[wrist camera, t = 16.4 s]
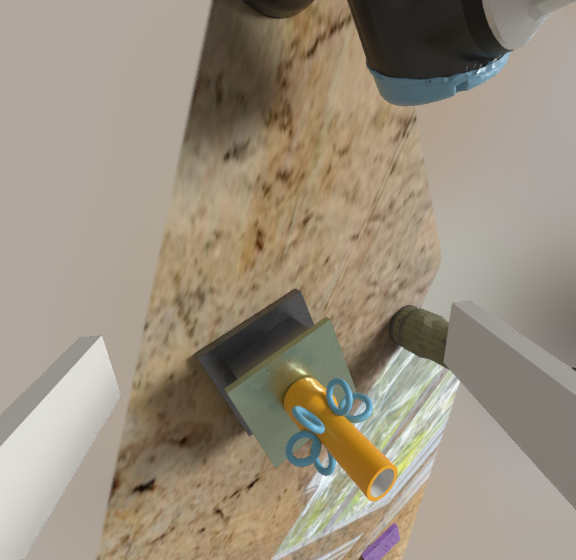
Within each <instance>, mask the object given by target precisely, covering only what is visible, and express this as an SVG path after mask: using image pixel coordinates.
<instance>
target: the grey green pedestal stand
mask: <svg viewBox="0 0 576 560" xmlns="http://www.w3.org/2000/svg"><path fill="white" fill-rule="evenodd" d="M195 355H196V357H197V359H198V360H199V362H200V363H201V365H202V366H203V368H204V369H205V371H206V372H207V374H208V375H209V377H210V378H211V380H212V381H213V383H214V384H215V386H216V387H217V389H218V390H219V392H220V393H221V395H222V396H223V398H224V399H225V401H226V402H227V404H228V405H229V407H230V408H231V410H232V411H233V413H234V414H235V416H236V417H237V419H238V420H239V422H240V423H241V425H242V426H243V428H244V429H245V431H246V432H247V434H248V435H249V436H251V435H252V434H254V436H255V437H256V439H257V440H258V442H259V443H260V445H261V447H262V448H263V450H264V451H265V453H266V454H267V456H268V457H269V459H270V460H271V462H272V463H273V465H274V467H275V468H277V467H278V466H279V465H280V464H281V463H282V462H284V461H285V460H286V459H287V457H286V445H287V442H288V441H289V439H290V438H291V437H292V436H293V435H294V434H296V433H298V432H300V430H299V428H298V427H297V426H296V425H295V423H294V422H293V421H292V419H291V418H290V417H289V416H288V414H287V413H286V412H285V409H284V403H283V402H284V397H285V394H286V392H287V390H288V389H289V388H290V386H291V385H292V384H293V383H295V382H296V381H297V380H299V379H301V378H305V377H311V378H314V379H316V380H317V381H319V382H320V383H321V384H322V385H323V386H324V387H325V388H326V389H327V386H328V383H329V382H330V381H331V380H332V379H334V378H341V379H343V380H345V381H346V382H347V384H348V385H349V387H350V389H351V392H352V393H357V391H356V389H355V386H354V383H353V380H352V378H351V375H350V372H349V369H348V366H347V364H346V361H345V358H344V355H343V353H342V350H341V347H340V344H339V342H338V339H337V336H336V333H335V331H334V328H333V325H332V322H331V320H330V319H329V318H327V317H325V318H324V319H322V320H321V321H319V322H318V323H317V324H315V325H314V323H313V321H312V318H311V316H310V313H309V311H308V308H307V306H306V303H305V301H304V298H303V296H302V293H301V291H299V290H297V289H294V290H293V291H291V292H290V293H288V294H287V295H285V296H284V297H282V298H280V299H279V300H277V301H276V302H274V303H273V304H271V305H270V306H268V307H267V308H265V309H263V310H262V311H260V312H259V313H257V314H256V315H254V316H253V317H251V318H249V319H248V320H246V321H245V322H243V323H242V324H240V325H239V326H237V327H236V328H234V329H232V330H231V331H229V332H228V333H226V334H225V335H223V336H222V337H220V338H219V339H217V340H215V341H214V342H212V343H211V344H209V345H208V346H206V347H205V348H203V349H202V350H200V351H198V352H197V353H195ZM332 394H333V395H334V397H335V398H336V400H337V403H338V406H339V403H340V401H341V399H342V398H343V397H344V396H345V392H344V390H343V388H342V387H341V386H340V385H338V384H337V385H335V386H334V388H333V393H332ZM355 400H356V399H353V402H354V401H355ZM309 439H310V438H302V439H299V440H298V441H297V442H296V443H295V444H294V445H293V448H292V453H294V452H295V451H297V450H298V449H299V448H300V447H301V446H302V445H304V444H305V443H306V442H307V441H308V440H309Z"/></svg>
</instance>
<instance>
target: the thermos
mask: <svg viewBox="0 0 576 560" xmlns="http://www.w3.org/2000/svg"><path fill="white" fill-rule="evenodd" d="M448 327H449V322H447V321H446V320H445V319H444V318H443V317H442V316H439V315H437V314H434V313H431V312H429V311H426V310H424V309H418V308H417V307H414V306H411V305H407V306H404V307H403V308H401V309H400V310H399V311H398V312H397V313H396V314H395V316H394V317H393V320H392V322H391V326H390V336H391V339H392V340H393V341H394V342H395V343H397V344H400V345H401V346H402V347H403V348H404V349H406V350H408V351H410V352H412V353H414V354H415V355H417V356H419V357H421V358H427V359H430V360H432V361H434V362H436V363H438V364H440V365H442V366H443V367H445V368H447V369H449V368H448V367H447V366H446V365H445V364H444V363H443V362H444V355H445V348H446V341H447V334H448ZM449 370H450V369H449Z"/></svg>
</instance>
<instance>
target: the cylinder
mask: <svg viewBox="0 0 576 560" xmlns="http://www.w3.org/2000/svg"><path fill="white" fill-rule="evenodd" d="M337 384H338V385H340V386H341V387H342V388H343V390H344V392H345V396H344V397H343V398H342V399H341V401H340V403H339V406H338V403H337V400H336V398H335V397H334V395H333V394H332V393H333V388H334V386H335V385H337ZM353 399H360V400H362V401H364V402H365V404H366V410H365V411H364V412H363V413H362V414H360V415H357V416H352V415H349V414H348V413H349V412H350V410H351V408H352V403H353ZM283 403H284V409H285V412H286V413H287V414H288V416H289V417H290V418H291V419H292V421H293V422H294V423H295V425H296V426H297V427H298V428H299V430H300V432H298V433H296V434H294V435H293V436H292V437H291V438H290V439H289V441H288V442H287V445H286V457H287V459H288V460H289V462H290V463H292V464H293V465H295V466H298V467H304V466H308V465H310V464H312V463H314V465H315V467H316V469H317V470H318V472H319V473H321V474H322V475H324V476H328V475H330V474H332V473H333V471H334V469H335V464H336V461H337V462H338V463H339V465H340V466H341V467H342V468H343V469H344V471H345V472H346V473H347V474H348V475H349V477H350V478H351V479H352V480H353V481H354V482H355V484H356V485H357V486H358V487H359V488H360V490H361V491H362V492H363V493H364V494H365V496H366V497H367V498H368V499H369V500H370V501H377V500H379V499H381V498H382V497H384V496H385V495H386V494H387V493H388V492H389V490H390V489H391V488H392V486H393V485H394V483H395V480H396V478H397V468H396V466H395V465H394V464H393V463H392V462H391V461H390V460H389V459H388V458H387V457H385V456H384V455H383V454H382V453H381V452H380V451H379V450H378V449H377V448H376V447H375V446H374V445H373V444H372V443H371V442H370V441H369V440H368V439H367V438H366V437H365V436H364V435H363V434H362V433H361V432H360V431H359V430H358V429H357V428H356V427H355V426H354V425H353V424H352V423H358V422H362V421H364V420H366V419H367V418H368V417H369V416H370V415H371V413H372V410H373V405H372V402H371V400H370V399H369V397H367V396H366V395H364V394H362V393H352V392H351V389H350V387H349V385H348V384H347V382H346V381H345V380H343V379H341V378H334V379H332V380H331V381H330V382H329V383H328V386H327V389H326V388H325V387H324V386H323V385H322V384H321V383H320V382H319V381H317V380H316V379H314V378H311V377H305V378H301V379H299V380H297V381H296V382H295V383H293V384H292V385H291V386H290V388H289V389H288V390H287V392H286V394H285V397H284V402H283ZM351 422H352V423H351ZM302 438H310V439H311V440H313V443H312V447H311V455H310V456H308V457H306V458H303V459H299V458H296V457H295V456H294V455H293V453H292V448H293V445H294V444H295V443H296V442H297V441H298V440H299V439H302ZM321 443H322V444H323V446H324V447H325V448H326V449H327V452H328V455H329V465H328V467H327V468H324V467H323V466H322V465H321V463H320V461H319V458H318V457H319V455H320V452H321Z"/></svg>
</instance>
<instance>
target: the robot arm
mask: <svg viewBox="0 0 576 560" xmlns="http://www.w3.org/2000/svg"><path fill="white" fill-rule="evenodd" d="M244 1H245V2H246V3H247V4H248V5H249V6H251V7H252V8H254V9H255V10H257V11H259V12H261V13H263V14H265V15H267V16H271V17H276V18H287V17H291V16H294V15H296V14H299V13H300V12H302V11H303V10H304V9H305V8H307V7H308V6H309V5H310V4H311V3H312V2H313V1H314V0H244ZM347 2H348V5H349V8H350V11H351V14H352V17H353V20H354V23H355V26H356V29H357V32H358V35H359V38H360V41H361V44H362V47H363V50H364V53H365V56H366V65H367V68H368V69H369V71H370V73H371V74H372V75H373V77H374V80H375V83H376V85H377V88H378V90H379V93H380V95H381V96H382V97H383V98H384V99H385V100H386V101H387V102H389V103H391V104H394V105H398V106H416V105H423V104H428V103H432V102H436V101H440V100H443V99H446V98H449V97H452V96H454V95H455V94H456V93H457V92H458V91H466V90H469V89H472V88H474V87H476V86H478V85H480V84H481V83H483V82H485V81H487V80H489V79H490V78H492V77H493V76H495V74H497V73H498V72H499V71H500V70H501V69H502V68H503V67H504V65H505V64H506V63H507V61H508V56H509V55H510V51H513V50H516V49H518V48H521V47H523V46H525V45H526V44H527V43H528V42H529V41H530V40H531V39H532V37H533V36H534V34H535V33H536V32H537V30H538V29H539V27H540V26H541V25H542V23H543V22H544V20H545V19H546V18H547V17H548V16H549V15H550V14H551V13H552V12H555V11H557V10H560V9H562V8H564V7H567V6H569V5H572V4H574V3H576V0H347ZM443 363H444V364H445V365H446V366H447V367H448V368H449V369H450V370H451V371H452V373H453V374H454V375H455V376H456V377H457V378H458V379H459V380H460V382H461V383H462V384H463V385H464V386H465V387H466V388H467V389H468V390H469V392H470V393H471V394H472V395H473V396H474V397H475V398H476V399H477V400H478V402H479V403H480V404H481V405H482V406H483V407H484V408H485V409H486V410H487V411H488V413H489V414H490V415H491V416H492V417H493V418H494V419H495V420H496V422H497V423H498V424H499V425H500V426H501V427H502V428H503V429H504V430H505V432H506V433H507V434H508V435H509V436H510V437H511V438H512V439H513V440H514V441H515V443H516V444H517V445H518V446H519V447H520V448H521V449H522V450H523V452H525V454H526V455H527V456H528V457H529V458H530V459H531V460H532V462H533V463H534V464H535V465H536V466H537V467H538V468H539V469H540V470H541V472H542V473H543V474H544V475H545V476H546V477H547V478H548V479H549V481H550V482H551V483H552V484H553V485H554V486H555V487H556V488H557V489H558V491H559V492H560V493H561V494H562V495H563V496H564V497H565V498H566V499H567V501H568V502H569V503H570V504H571V505H572V506H573V507H574V508H575V509H576V368H570V367H569V366H567V365H566V364H564V363H563V362H561V361H560V360H558V359H557V358H555V357H554V356H552V355H550V354H549V353H548V352H546V351H545V350H543V349H542V348H540V347H539V346H537V345H536V344H535V343H533V342H531V341H530V340H529V339H527V338H526V337H524V336H523V335H521V334H520V333H518V332H517V331H515V330H514V329H512V328H511V327H509V326H508V325H506V324H505V323H503V322H502V321H500V320H499V319H497V318H496V317H494V316H493V315H491V314H490V313H488V312H487V311H485V310H484V309H482V308H481V307H479V306H478V305H476V304H475V303H474V302H472V301H465V302H455V303H452V306H451V315H450V321H449V327H448V334H447V341H446V348H445V355H444V362H443ZM120 397H121V394H120V391H119V388H118V385H117V382H116V378H115V376H114V373H113V369H112V366H111V363H110V360H109V357H108V354H107V350H106V347H105V344H104V341H103V338H102V336H101V335H100V336H89V337H80V338H79V339H78V340H77V341H76V342H75V343H74V344H73V345H72V346H71V347H69V349H67V350H66V351H65V352H64V353H63V354H62V355H61V356H60V357H59V358H58V359H57V360H56V361H55V362H54V363H53V364H52V365H51V366H50V367H49V368H48V369H47V370H46V371H45V372H44V373H43V374H42V375H41V376H40V377H39V378H38V379H37V380H36V381H35V382H34V383H33V384H32V385H31V386H30V387H29V388H28V389H27V390H25V392H23V393H22V394H21V395H20V397H18V398H17V399H16V400H15V401H14V402H13V403H12V404H11V405H10V406H9V407H8V408H7V409H6V410H5V411H4V412H3V413H2V414H1V415H0V560H24V558H25V556H26V555H27V553H28V551H29V550H30V548H31V546H32V545H33V543H34V541H35V540H36V538H37V536H38V535H39V533H40V531H41V529H42V528H43V526H44V525H45V523H46V521H47V519H48V518H49V516H50V514H51V513H52V511H53V509H54V508H55V506H56V504H57V503H58V501H59V499H60V498H61V496H62V494H63V493H64V491H65V489H66V488H67V486H68V484H69V483H70V481H71V479H72V477H73V475H74V474H75V472H76V471H77V469H78V467H79V465H80V464H81V462H82V460H83V459H84V457H85V456H86V454H87V452H88V451H89V449H90V447H91V446H92V444H93V442H94V440H95V439H96V437H97V435H98V434H99V432H100V430H101V429H102V427H103V425H104V424H105V422H106V420H107V419H108V417H109V415H110V414H111V412H112V410H113V408H114V407H115V405H116V403H117V402H118V400H119V398H120Z"/></svg>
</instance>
